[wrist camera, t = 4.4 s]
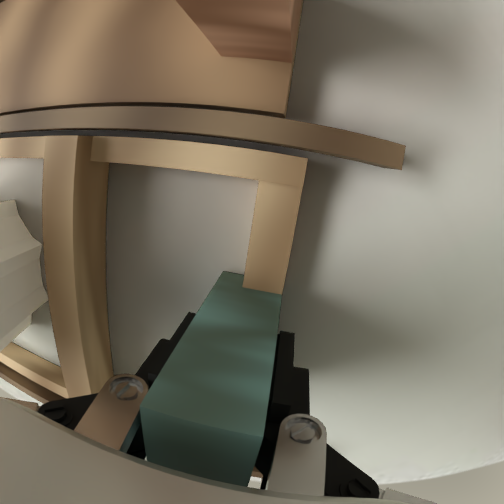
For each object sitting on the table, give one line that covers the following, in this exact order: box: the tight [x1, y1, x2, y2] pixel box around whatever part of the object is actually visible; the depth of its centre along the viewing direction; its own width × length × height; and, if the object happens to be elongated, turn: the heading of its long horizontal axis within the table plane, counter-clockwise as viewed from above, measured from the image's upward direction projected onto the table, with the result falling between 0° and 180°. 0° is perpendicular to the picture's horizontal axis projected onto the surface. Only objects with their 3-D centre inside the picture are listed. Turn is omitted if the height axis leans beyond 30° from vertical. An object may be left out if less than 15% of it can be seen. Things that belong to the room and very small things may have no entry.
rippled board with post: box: [0, 0, 303, 118], centre depth 7 cm, size 24×8×8 cm, turn 81°
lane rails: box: [0, 0, 406, 478], centre depth 12 cm, size 29×26×3 cm
